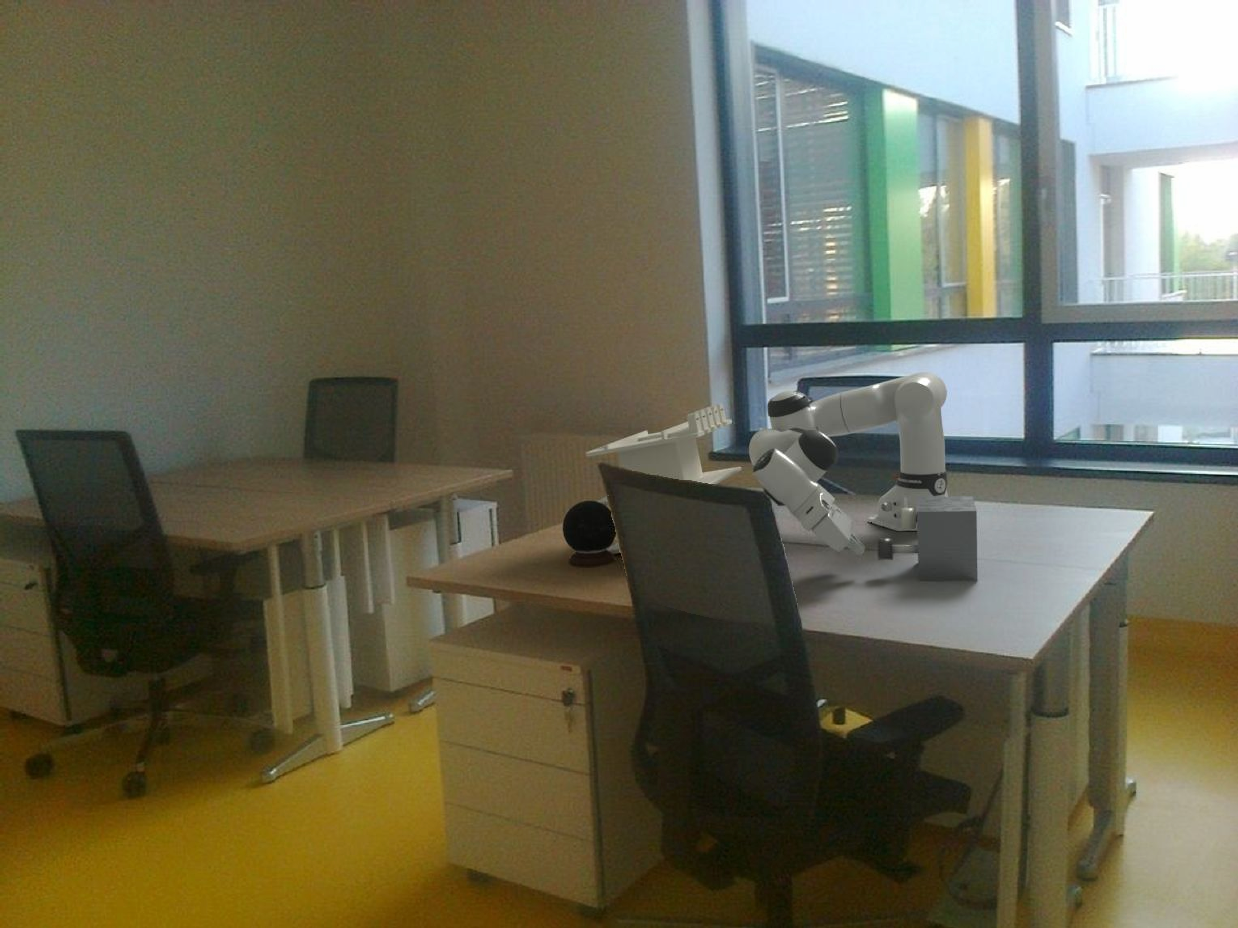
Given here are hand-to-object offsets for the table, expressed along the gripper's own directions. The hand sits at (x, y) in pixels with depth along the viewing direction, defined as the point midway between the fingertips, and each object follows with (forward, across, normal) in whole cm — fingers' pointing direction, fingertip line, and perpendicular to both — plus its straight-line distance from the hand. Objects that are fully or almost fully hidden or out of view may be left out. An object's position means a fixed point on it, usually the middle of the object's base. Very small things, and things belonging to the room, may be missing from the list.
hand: (862, 551), depth 252 cm
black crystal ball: (-42, -13, -50) cm, 67 cm away
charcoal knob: (+7, 0, +5) cm, 8 cm away
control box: (+16, -4, +9) cm, 19 cm away
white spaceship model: (-30, -31, -38) cm, 58 cm away
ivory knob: (+7, -8, +12) cm, 16 cm away
